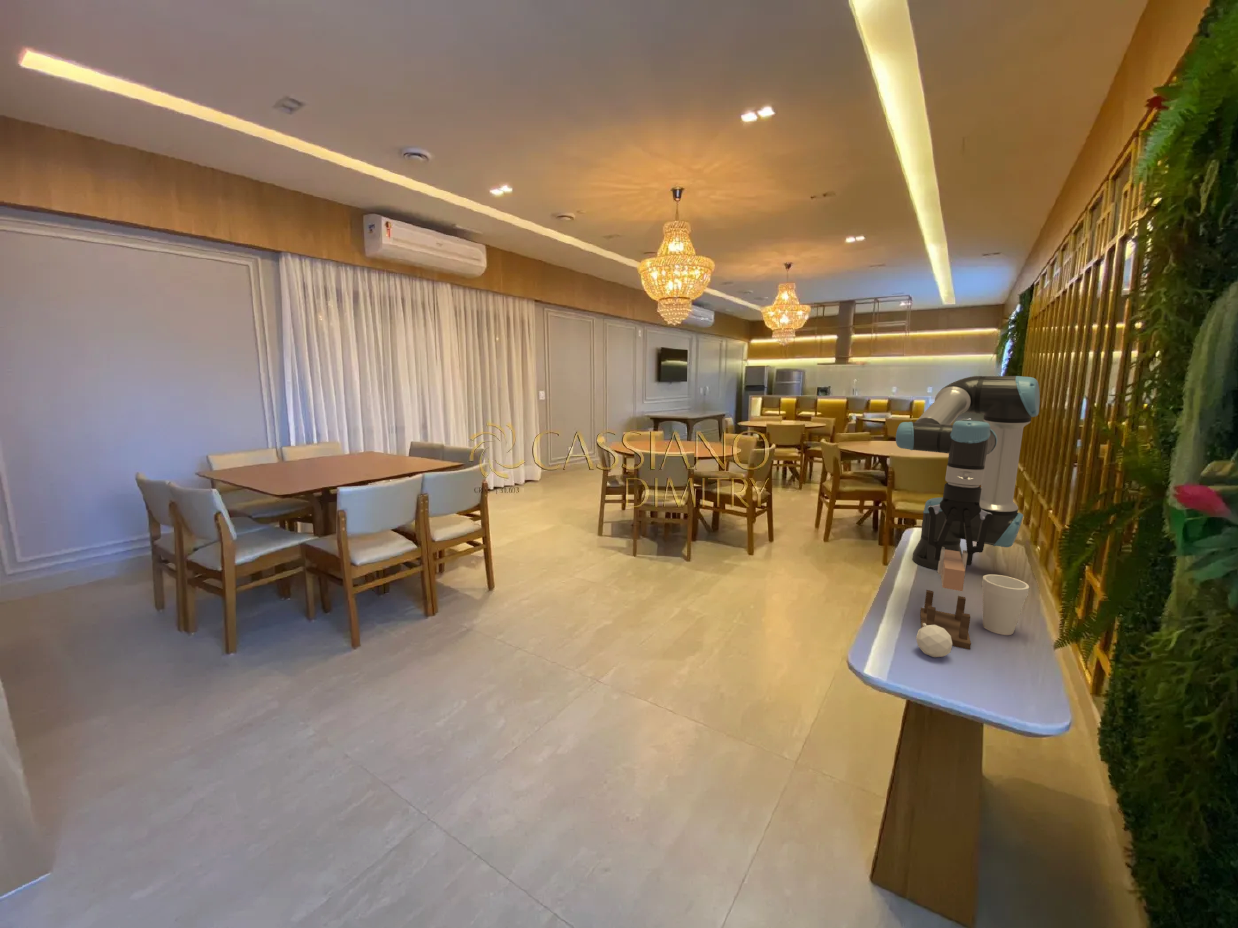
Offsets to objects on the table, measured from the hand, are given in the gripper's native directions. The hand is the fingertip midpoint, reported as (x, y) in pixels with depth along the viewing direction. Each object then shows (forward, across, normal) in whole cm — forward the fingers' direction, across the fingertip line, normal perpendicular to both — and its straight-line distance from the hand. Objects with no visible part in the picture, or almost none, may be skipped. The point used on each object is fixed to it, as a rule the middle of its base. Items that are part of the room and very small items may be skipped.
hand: (950, 574), depth 126 cm
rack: (+15, 0, 0) cm, 15 cm away
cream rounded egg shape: (+15, -3, -15) cm, 22 cm away
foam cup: (+15, +12, +8) cm, 21 cm away
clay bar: (+1, 0, 0) cm, 1 cm away
